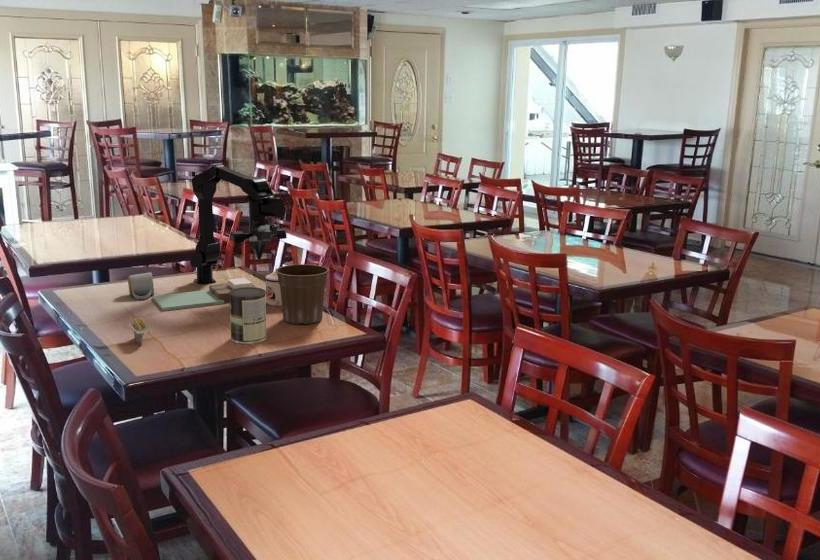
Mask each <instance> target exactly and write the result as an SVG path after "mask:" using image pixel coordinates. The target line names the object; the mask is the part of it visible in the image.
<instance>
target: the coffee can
mask: <svg viewBox="0 0 820 560" xmlns="http://www.w3.org/2000/svg"><path fill="white" fill-rule="evenodd" d="M256 287H257V286H256ZM256 287H243V288H236V289H233V290H231V291H229V299H230V302H229V318H230V320H229V321H230V341H231V342H232V343H235V344H238V343H240V345H255V344H259V343H263V342H264V341H266V340H267V338H268V337H267V313H266V312H267V309H266V306H267V305H266V304H267V303H266V289H264V288H261V287H257V288H256ZM262 341H263V342H262ZM253 343H254V344H253Z"/></svg>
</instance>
